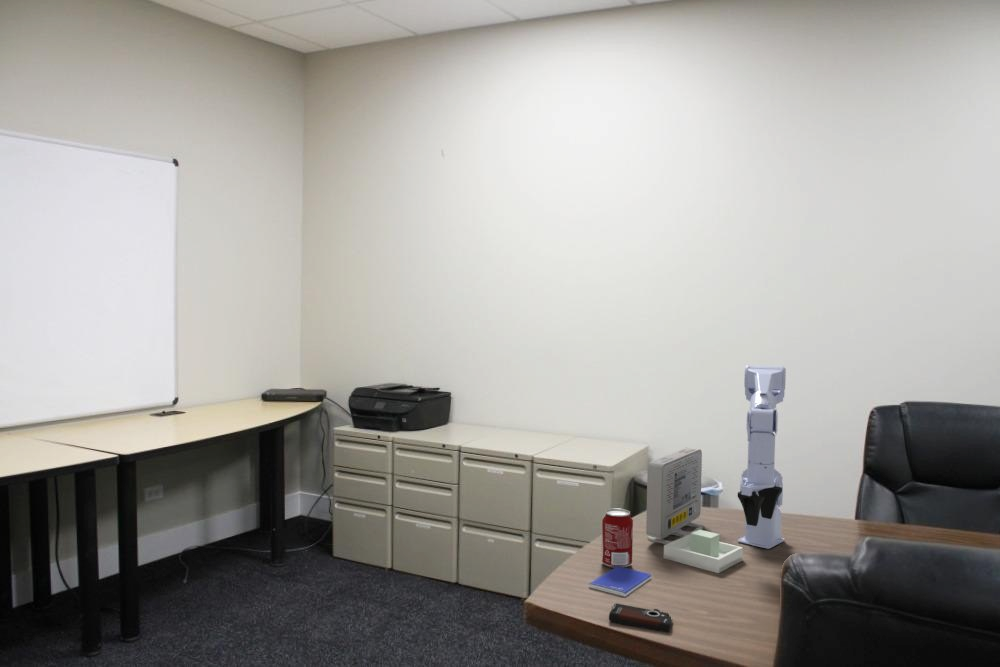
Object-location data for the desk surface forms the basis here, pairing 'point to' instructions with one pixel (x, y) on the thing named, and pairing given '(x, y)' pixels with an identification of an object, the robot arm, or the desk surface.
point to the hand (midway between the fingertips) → (759, 521)
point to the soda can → (617, 538)
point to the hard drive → (620, 581)
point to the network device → (673, 494)
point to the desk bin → (682, 554)
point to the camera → (641, 617)
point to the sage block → (705, 543)
